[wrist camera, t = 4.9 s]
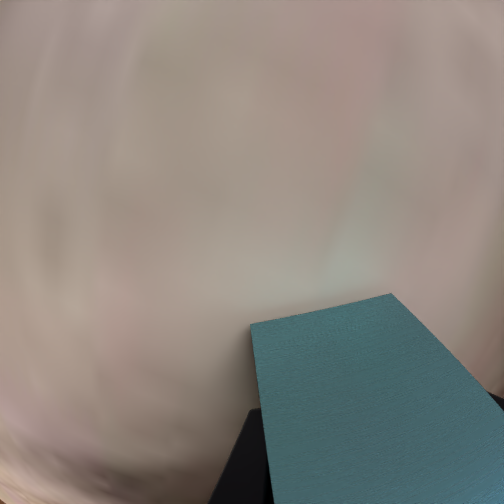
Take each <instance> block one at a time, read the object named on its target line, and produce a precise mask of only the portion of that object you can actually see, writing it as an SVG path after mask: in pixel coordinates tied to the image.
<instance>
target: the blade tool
mask: <svg viewBox="0 0 504 504" xmlns="http://www.w3.org/2000/svg"><path fill="white" fill-rule="evenodd" d="M250 327H251V335H252V343H253V351H254V358H255V366H256V374H257V381H258V389H259V396H260V404H261V411H262V418H263V426H264V433H265V440H266V448H267V455H268V462H269V469H270V476H271V483H272V490H273V497H274V504H504V411H503V410H502V409H501V408H500V406H499V405H498V404H497V403H496V402H495V401H494V400H493V398H492V397H491V396H490V395H489V394H488V393H487V392H486V390H485V389H484V388H483V387H482V386H481V385H480V384H479V383H478V382H477V380H476V379H475V378H474V377H473V376H472V375H471V374H470V373H469V372H468V371H467V370H466V368H465V367H464V366H463V365H462V364H461V363H460V362H459V361H458V360H457V359H456V358H455V357H454V356H453V355H452V354H451V352H450V351H449V350H448V349H447V348H446V347H445V346H444V345H443V344H442V343H441V342H440V341H439V340H438V339H437V338H436V337H435V336H434V335H433V334H432V333H431V332H430V331H429V330H428V329H427V328H426V327H425V326H424V325H423V324H422V323H421V322H420V321H419V320H418V319H417V318H416V317H415V316H414V315H413V314H412V313H411V312H410V311H409V310H408V309H407V308H406V307H405V306H404V305H403V304H402V303H401V302H400V301H399V300H398V299H397V298H396V297H395V296H394V295H393V294H391V293H390V294H386V295H382V296H378V297H374V298H370V299H366V300H362V301H358V302H354V303H350V304H345V305H341V306H337V307H332V308H328V309H323V310H319V311H314V312H309V313H305V314H300V315H295V316H290V317H285V318H280V319H275V320H270V321H264V322H259V323H253V324H250Z"/></svg>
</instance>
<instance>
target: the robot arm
mask: <svg viewBox="0 0 504 504" xmlns="http://www.w3.org/2000/svg"><path fill="white" fill-rule="evenodd" d="M486 392H487V391H486ZM487 393H488V394H489V395H490V396H491V397H492V398H493V400H494V401H495V402H496V403H497V404H498V405H499V406H500V408H501V409H502V410H503V411H504V399H503V398H501V397H499V396H496V395H494V394H492V393H489V392H487ZM207 504H274V497H273V490H272V483H271V476H270V469H269V462H268V455H267V448H266V440H265V433H264V426H263V418H262V411H261V408H258V409H252V410H250V411H249V413H248V415H247V418H246V420H245V422H244V425H243V427H242V429H241V432H240V434H239V436H238V438H237V441H236V443H235V445H234V447H233V450H232V452H231V454H230V456H229V459H228V461H227V463H226V465H225V467H224V469H223V472H222V474H221V476H220V478H219V480H218V482H217V484H216V486H215V489H214V491H213V493H212V495H211V497H210V499H209V501H208V503H207Z"/></svg>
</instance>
